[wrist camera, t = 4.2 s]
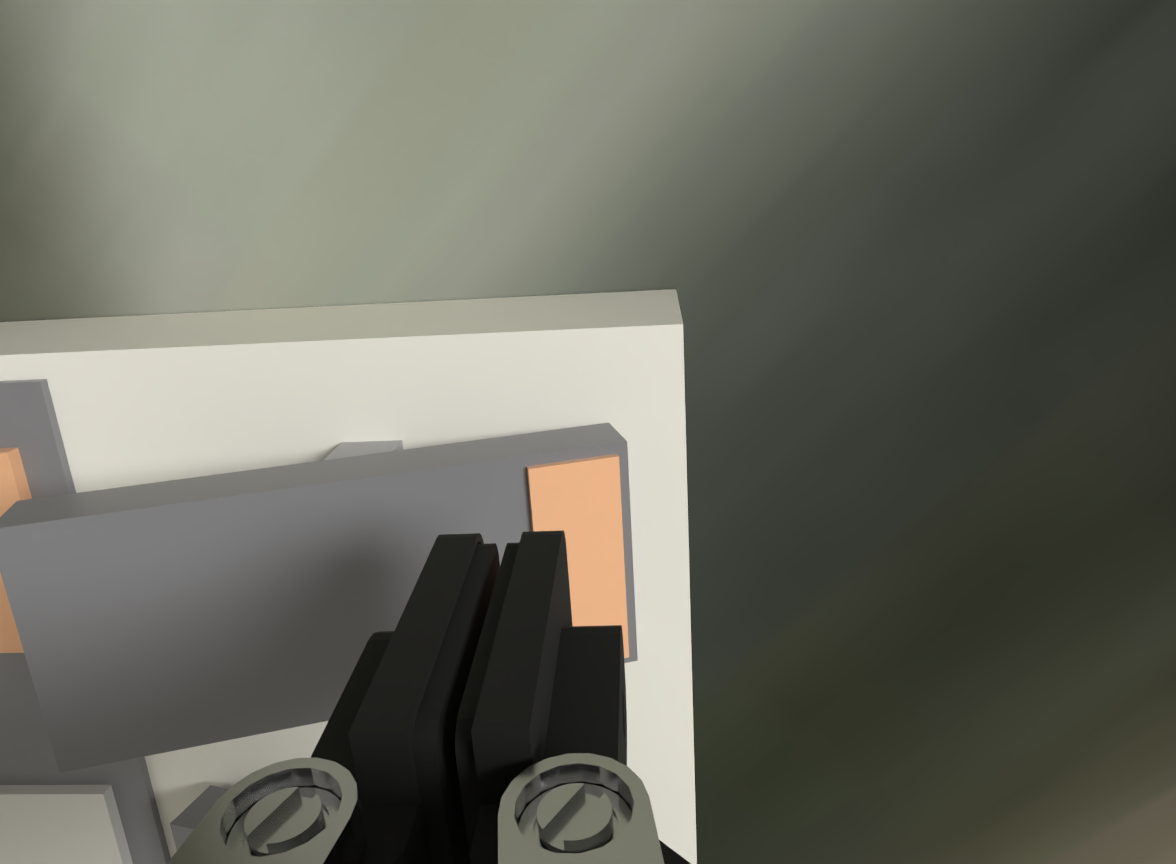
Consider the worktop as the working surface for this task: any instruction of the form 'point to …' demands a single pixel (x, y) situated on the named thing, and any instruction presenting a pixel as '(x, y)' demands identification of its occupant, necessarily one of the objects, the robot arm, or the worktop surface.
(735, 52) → the worktop surface
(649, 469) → the switch unit
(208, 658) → the block
